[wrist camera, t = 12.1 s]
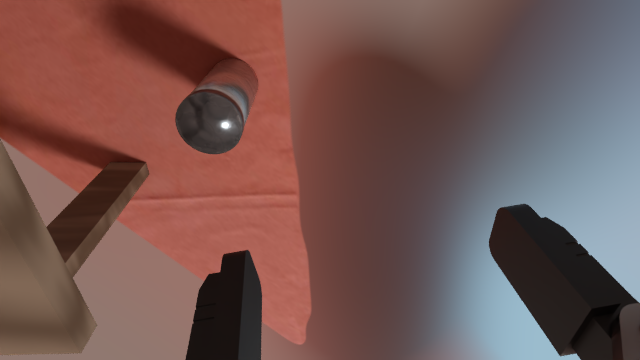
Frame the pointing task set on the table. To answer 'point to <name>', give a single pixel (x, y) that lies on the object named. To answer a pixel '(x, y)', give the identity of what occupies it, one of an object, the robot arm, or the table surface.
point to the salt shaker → (218, 107)
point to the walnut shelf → (53, 258)
